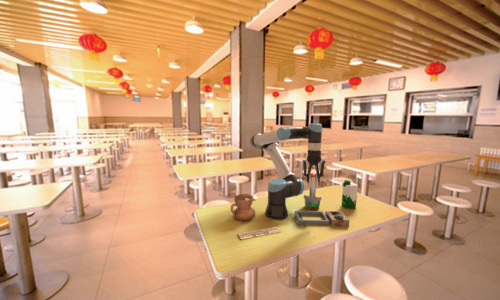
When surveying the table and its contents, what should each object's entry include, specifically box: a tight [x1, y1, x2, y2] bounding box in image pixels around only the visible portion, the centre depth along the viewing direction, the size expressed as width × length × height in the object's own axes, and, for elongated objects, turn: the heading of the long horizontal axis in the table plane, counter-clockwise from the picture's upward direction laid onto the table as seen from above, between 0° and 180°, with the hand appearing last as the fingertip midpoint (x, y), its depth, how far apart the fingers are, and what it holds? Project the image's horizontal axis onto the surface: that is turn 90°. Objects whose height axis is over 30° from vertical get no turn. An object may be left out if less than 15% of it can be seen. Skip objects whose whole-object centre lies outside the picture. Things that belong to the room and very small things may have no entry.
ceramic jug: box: [230, 193, 256, 222], centre depth 135 cm, size 18×14×14 cm
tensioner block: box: [324, 210, 350, 228], centre depth 128 cm, size 10×12×7 cm
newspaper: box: [237, 226, 281, 240], centre depth 117 cm, size 24×7×2 cm, turn 109°
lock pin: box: [308, 172, 317, 200], centre depth 128 cm, size 4×4×16 cm
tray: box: [294, 210, 330, 227], centre depth 131 cm, size 18×13×4 cm
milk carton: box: [341, 179, 359, 210], centre depth 150 cm, size 9×9×20 cm
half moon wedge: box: [303, 194, 322, 211], centre depth 146 cm, size 12×6×10 cm, turn 62°
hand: (312, 187), depth 128 cm, fingers closed on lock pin, 4 cm apart
